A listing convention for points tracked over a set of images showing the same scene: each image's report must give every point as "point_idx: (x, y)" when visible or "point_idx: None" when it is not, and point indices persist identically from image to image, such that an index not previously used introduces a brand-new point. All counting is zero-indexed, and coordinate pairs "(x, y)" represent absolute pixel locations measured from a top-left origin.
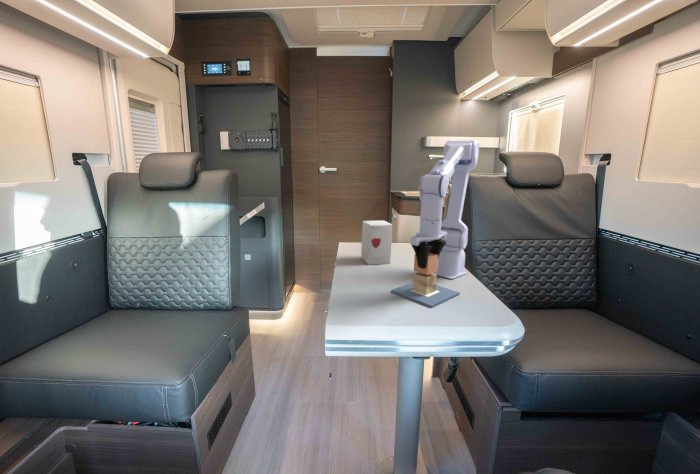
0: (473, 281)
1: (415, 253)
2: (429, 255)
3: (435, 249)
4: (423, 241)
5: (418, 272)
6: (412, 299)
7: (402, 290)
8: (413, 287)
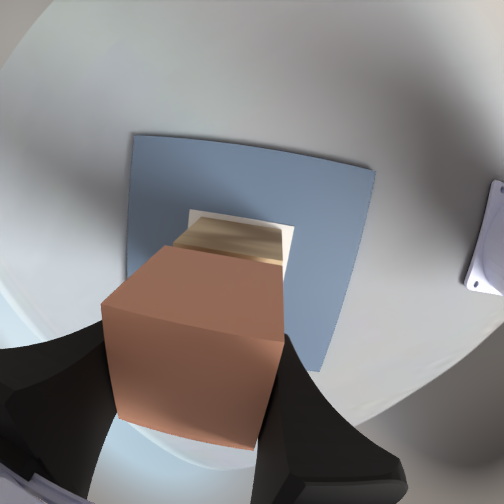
0: (473, 346)
1: (51, 342)
2: (177, 416)
3: (258, 469)
4: (22, 485)
5: (219, 251)
6: (128, 256)
7: (166, 177)
8: (197, 221)
